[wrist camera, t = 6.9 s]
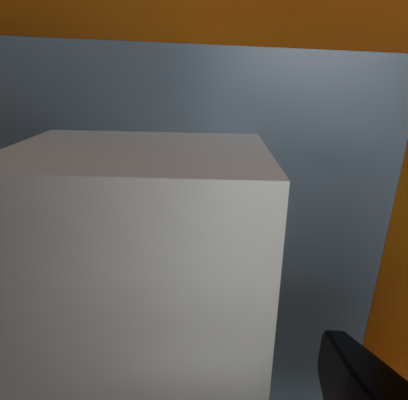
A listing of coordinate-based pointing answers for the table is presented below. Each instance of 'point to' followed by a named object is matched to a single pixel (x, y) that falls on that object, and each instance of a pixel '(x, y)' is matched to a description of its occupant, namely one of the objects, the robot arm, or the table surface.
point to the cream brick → (139, 266)
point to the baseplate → (271, 136)
